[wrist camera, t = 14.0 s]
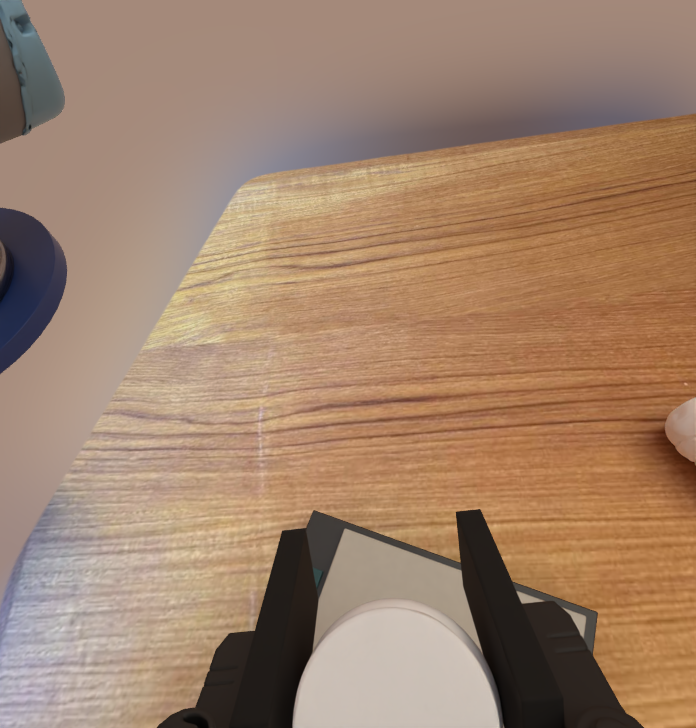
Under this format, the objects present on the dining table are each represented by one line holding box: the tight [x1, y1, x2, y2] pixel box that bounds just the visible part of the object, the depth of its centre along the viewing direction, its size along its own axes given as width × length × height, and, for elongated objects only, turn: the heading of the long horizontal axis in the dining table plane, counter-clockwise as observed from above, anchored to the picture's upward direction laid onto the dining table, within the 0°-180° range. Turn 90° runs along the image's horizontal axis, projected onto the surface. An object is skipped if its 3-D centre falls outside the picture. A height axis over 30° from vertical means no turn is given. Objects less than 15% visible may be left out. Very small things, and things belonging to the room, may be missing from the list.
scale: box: [306, 510, 598, 728], centre depth 25 cm, size 16×14×3 cm
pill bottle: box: [292, 598, 503, 728], centre depth 13 cm, size 5×5×8 cm
